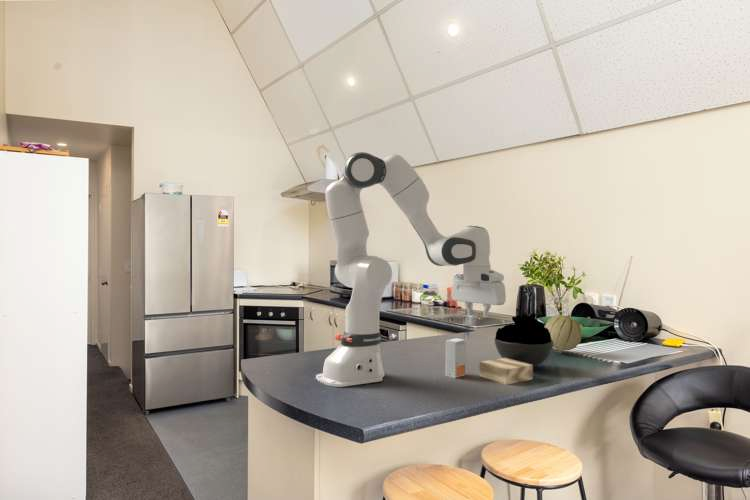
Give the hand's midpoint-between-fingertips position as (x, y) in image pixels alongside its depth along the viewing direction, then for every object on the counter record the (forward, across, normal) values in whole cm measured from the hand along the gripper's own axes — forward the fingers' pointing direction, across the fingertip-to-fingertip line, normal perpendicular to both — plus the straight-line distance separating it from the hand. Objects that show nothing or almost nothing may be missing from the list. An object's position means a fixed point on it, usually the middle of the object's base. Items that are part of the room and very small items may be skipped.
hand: (477, 316), depth 160 cm
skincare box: (+20, -5, -6) cm, 21 cm away
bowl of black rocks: (+20, +2, +22) cm, 30 cm away
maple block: (+20, +7, +6) cm, 22 cm away
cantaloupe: (+21, -4, +60) cm, 64 cm away
